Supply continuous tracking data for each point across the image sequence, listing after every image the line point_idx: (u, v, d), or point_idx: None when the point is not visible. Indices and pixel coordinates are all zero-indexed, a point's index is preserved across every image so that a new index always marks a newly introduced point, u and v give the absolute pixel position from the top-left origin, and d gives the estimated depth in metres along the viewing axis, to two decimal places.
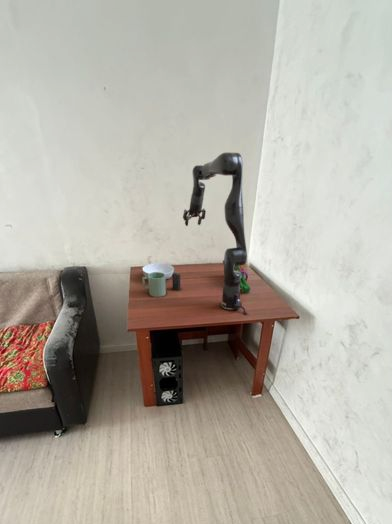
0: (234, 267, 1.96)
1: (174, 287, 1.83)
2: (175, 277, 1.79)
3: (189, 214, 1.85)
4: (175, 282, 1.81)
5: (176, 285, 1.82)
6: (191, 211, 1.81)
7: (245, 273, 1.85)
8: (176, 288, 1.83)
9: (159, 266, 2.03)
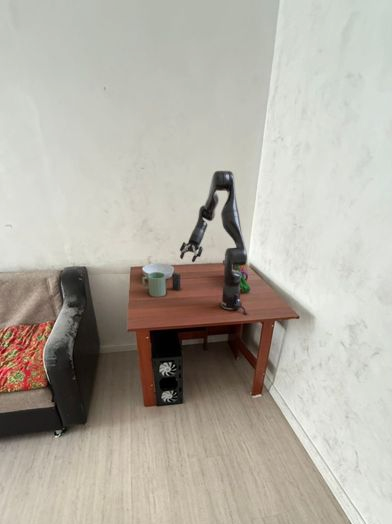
0: (234, 267, 1.96)
1: (174, 287, 1.83)
2: (175, 277, 1.79)
3: (187, 250, 1.86)
4: (175, 282, 1.81)
5: (176, 285, 1.82)
6: (188, 243, 1.84)
7: (245, 273, 1.85)
8: (176, 288, 1.83)
9: (159, 266, 2.03)
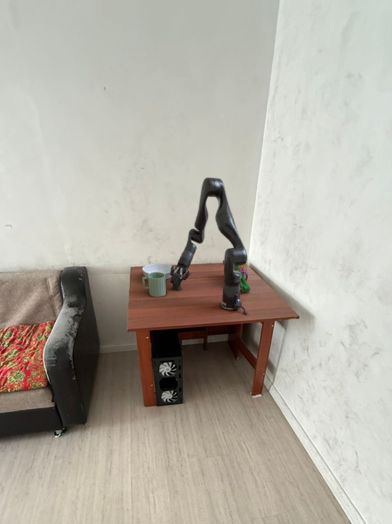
0: (234, 267, 1.96)
1: (174, 287, 1.83)
2: (175, 277, 1.79)
3: None
4: (175, 282, 1.81)
5: (176, 285, 1.82)
6: (177, 266, 1.82)
7: (245, 273, 1.85)
8: (176, 288, 1.83)
9: (159, 266, 2.03)
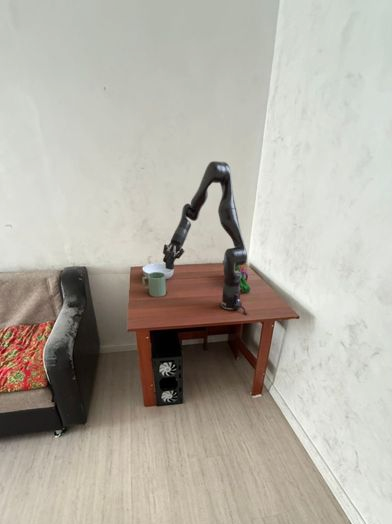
0: None
1: (167, 266, 1.73)
2: (168, 255, 1.69)
3: None
4: (168, 261, 1.71)
5: (169, 264, 1.72)
6: (170, 244, 1.72)
7: (245, 273, 1.85)
8: (169, 267, 1.73)
9: (159, 266, 2.03)
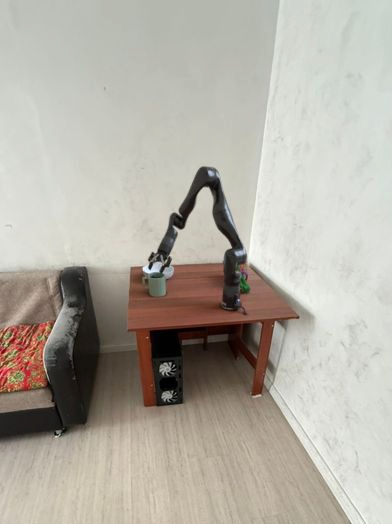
0: None
1: None
2: None
3: None
4: None
5: None
6: (157, 253, 1.71)
7: (245, 273, 1.85)
8: None
9: (159, 266, 2.03)
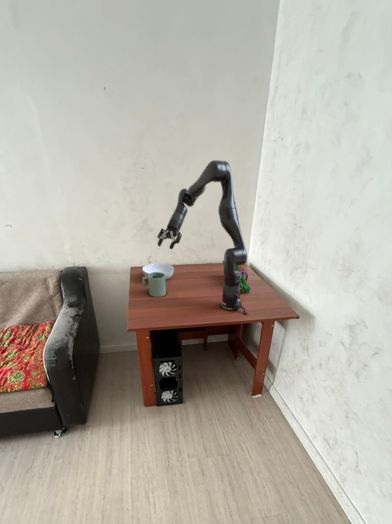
0: None
1: None
2: None
3: (166, 237, 1.73)
4: None
5: None
6: (166, 229, 1.71)
7: (245, 273, 1.85)
8: None
9: (159, 266, 2.03)
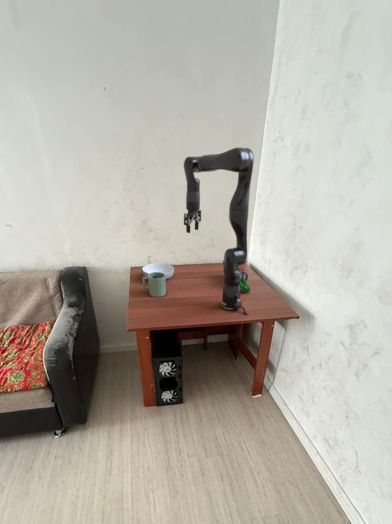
0: None
1: None
2: None
3: None
4: None
5: None
6: (191, 213, 1.61)
7: (245, 273, 1.85)
8: None
9: (159, 266, 2.03)
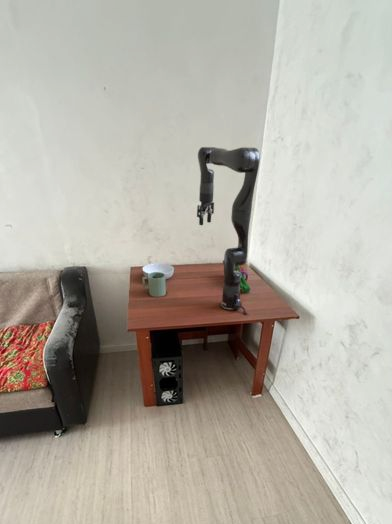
0: (234, 267, 1.96)
1: None
2: None
3: None
4: None
5: None
6: (204, 205, 1.59)
7: (245, 273, 1.85)
8: None
9: (159, 266, 2.03)
